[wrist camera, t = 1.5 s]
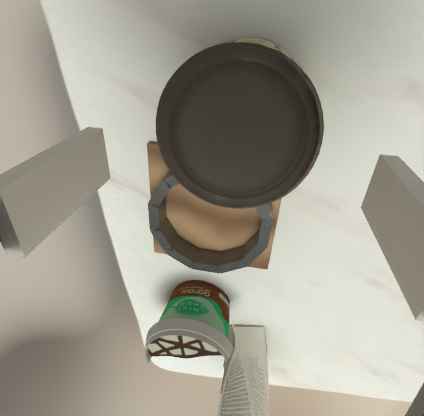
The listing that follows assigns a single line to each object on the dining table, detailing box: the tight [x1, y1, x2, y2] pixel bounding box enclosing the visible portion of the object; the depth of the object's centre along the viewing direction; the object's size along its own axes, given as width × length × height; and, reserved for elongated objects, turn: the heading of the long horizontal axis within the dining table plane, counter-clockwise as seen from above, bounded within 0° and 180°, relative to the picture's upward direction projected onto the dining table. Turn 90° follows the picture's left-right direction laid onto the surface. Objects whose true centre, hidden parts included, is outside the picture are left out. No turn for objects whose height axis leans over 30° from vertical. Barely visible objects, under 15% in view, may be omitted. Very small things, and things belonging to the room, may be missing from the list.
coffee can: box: [156, 38, 324, 209], centre depth 24 cm, size 10×10×14 cm
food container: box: [145, 280, 233, 362], centre depth 42 cm, size 12×6×10 cm, turn 106°
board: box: [147, 142, 281, 269], centre depth 37 cm, size 16×16×1 cm
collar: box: [148, 170, 273, 273], centre depth 36 cm, size 14×14×3 cm
